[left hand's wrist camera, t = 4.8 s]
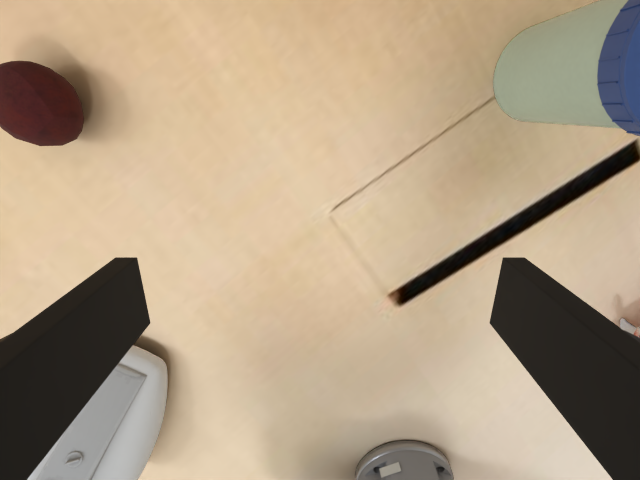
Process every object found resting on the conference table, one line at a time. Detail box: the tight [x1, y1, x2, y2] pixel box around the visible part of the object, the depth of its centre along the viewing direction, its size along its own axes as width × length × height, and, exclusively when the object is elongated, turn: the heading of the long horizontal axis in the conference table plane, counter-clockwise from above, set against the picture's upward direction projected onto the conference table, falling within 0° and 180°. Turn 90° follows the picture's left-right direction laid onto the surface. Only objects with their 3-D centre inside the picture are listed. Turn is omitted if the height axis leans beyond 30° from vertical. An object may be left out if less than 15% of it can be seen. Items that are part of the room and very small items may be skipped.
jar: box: [493, 0, 628, 128], centre depth 28 cm, size 9×9×17 cm
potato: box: [0, 61, 84, 146], centre depth 33 cm, size 7×8×7 cm
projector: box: [27, 345, 168, 480], centre depth 44 cm, size 22×23×15 cm
